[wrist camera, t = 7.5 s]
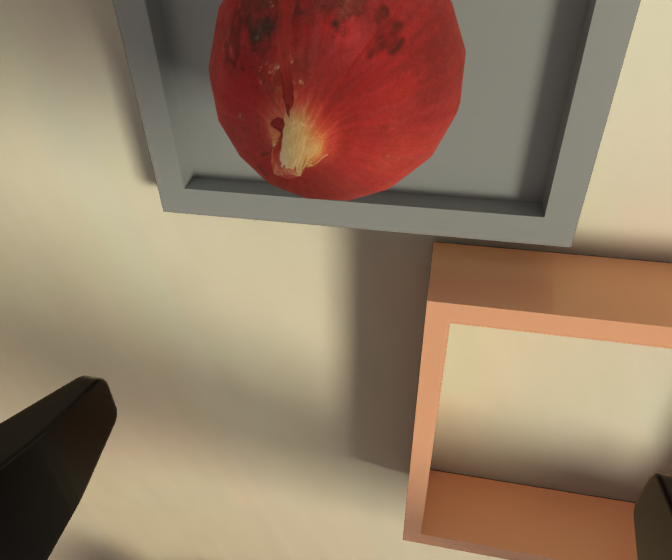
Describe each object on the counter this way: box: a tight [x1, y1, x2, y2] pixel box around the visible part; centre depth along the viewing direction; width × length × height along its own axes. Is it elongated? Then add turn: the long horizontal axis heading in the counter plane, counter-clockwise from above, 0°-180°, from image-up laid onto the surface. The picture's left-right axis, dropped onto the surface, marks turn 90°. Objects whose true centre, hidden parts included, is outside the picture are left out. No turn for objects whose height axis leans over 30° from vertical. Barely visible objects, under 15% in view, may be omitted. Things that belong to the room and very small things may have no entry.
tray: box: [113, 0, 641, 247], centre depth 15 cm, size 14×12×2 cm
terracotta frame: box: [403, 242, 672, 560], centre depth 22 cm, size 15×15×4 cm
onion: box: [208, 0, 466, 201], centre depth 12 cm, size 6×6×8 cm
